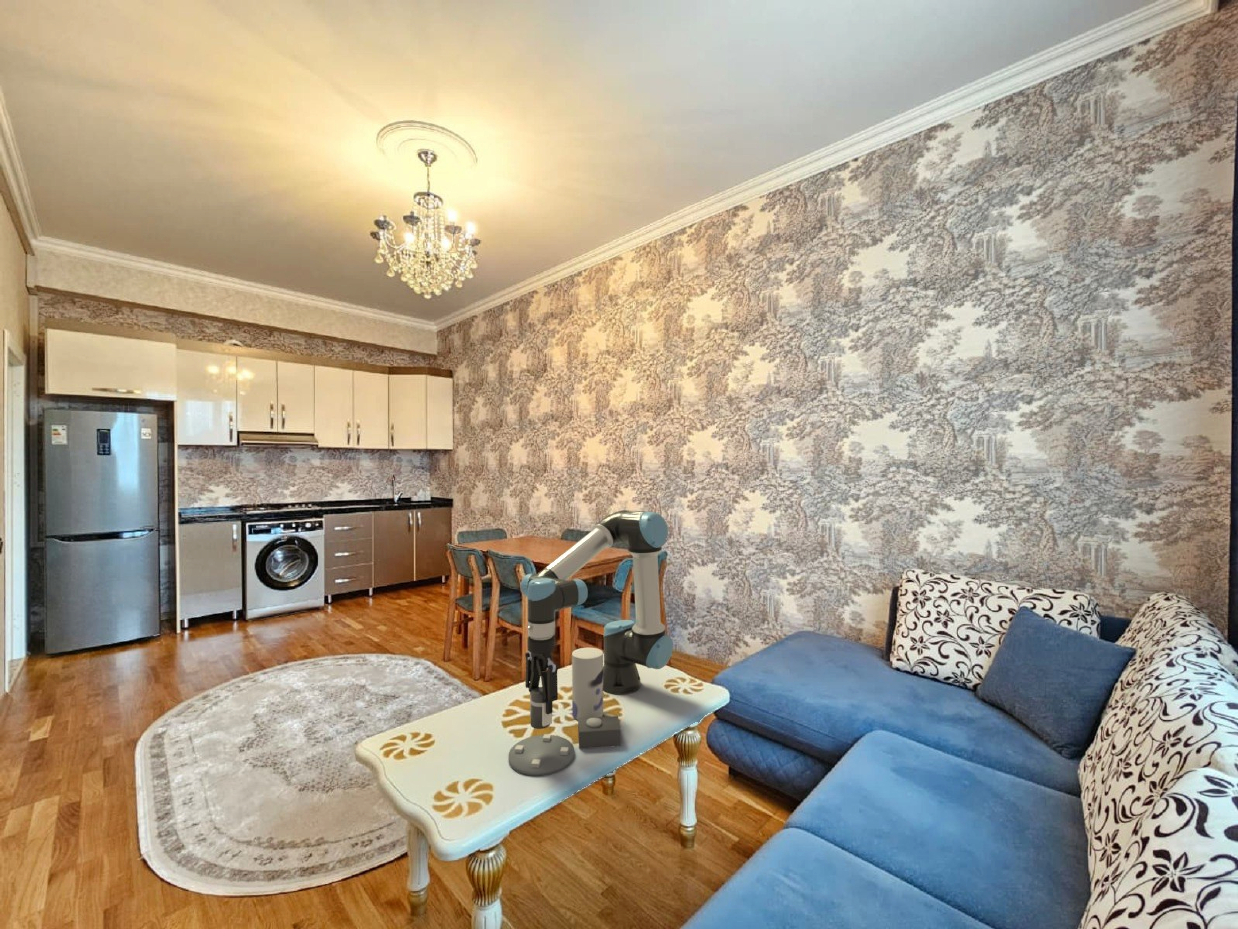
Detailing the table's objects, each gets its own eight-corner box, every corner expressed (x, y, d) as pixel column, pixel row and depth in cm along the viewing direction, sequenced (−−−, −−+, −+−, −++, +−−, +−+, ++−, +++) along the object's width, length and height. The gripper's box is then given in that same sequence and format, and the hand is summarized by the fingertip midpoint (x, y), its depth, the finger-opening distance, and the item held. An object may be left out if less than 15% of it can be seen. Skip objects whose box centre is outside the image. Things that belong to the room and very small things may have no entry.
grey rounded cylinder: (544, 716, 144) (544, 685, 144) (555, 724, 140) (555, 691, 140) (526, 723, 141) (526, 690, 141) (537, 731, 136) (537, 697, 136)
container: (599, 723, 158) (598, 659, 159) (568, 720, 160) (568, 657, 161) (606, 708, 168) (606, 648, 168) (577, 706, 170) (577, 646, 170)
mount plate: (551, 732, 153) (551, 725, 153) (587, 758, 139) (587, 750, 139) (496, 754, 142) (496, 746, 142) (529, 784, 128) (529, 776, 128)
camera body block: (617, 732, 153) (617, 713, 154) (621, 747, 146) (620, 726, 146) (578, 735, 152) (578, 715, 152) (579, 749, 144) (578, 729, 144)
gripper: (512, 630, 145) (512, 712, 145) (547, 647, 131) (547, 738, 131) (535, 625, 150) (535, 704, 150) (571, 641, 136) (571, 728, 136)
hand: (540, 720), depth 140 cm, fingers closed on grey rounded cylinder, 6 cm apart
